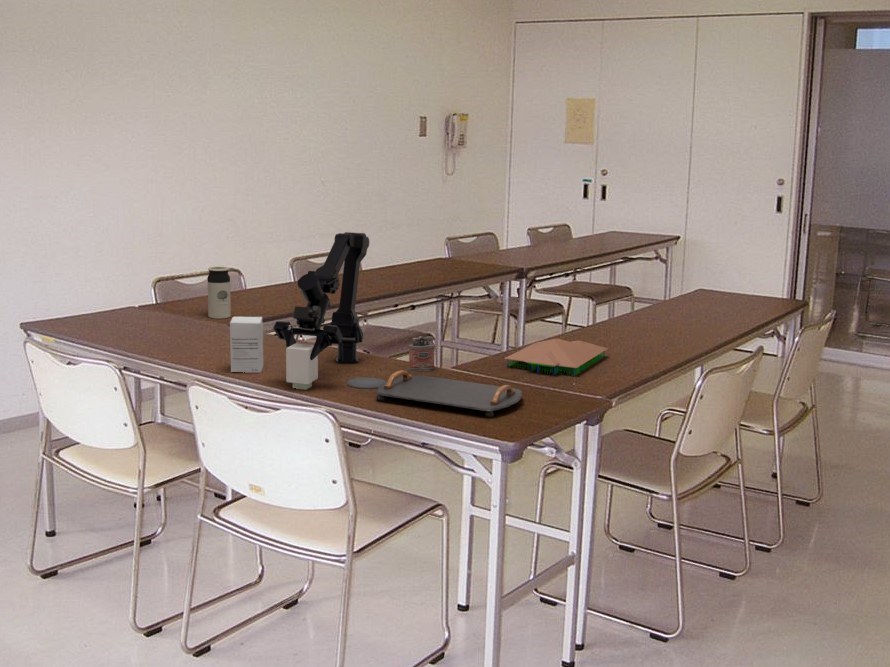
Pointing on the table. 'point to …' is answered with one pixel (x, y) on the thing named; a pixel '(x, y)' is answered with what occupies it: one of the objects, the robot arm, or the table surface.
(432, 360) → the lighter
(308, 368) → the white upright block
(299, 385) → the block
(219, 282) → the travel mug
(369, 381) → the mat
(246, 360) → the supplement box
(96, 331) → the table surface
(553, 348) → the house
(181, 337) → the table surface
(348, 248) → the robot arm
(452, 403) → the serving board
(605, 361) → the table surface
